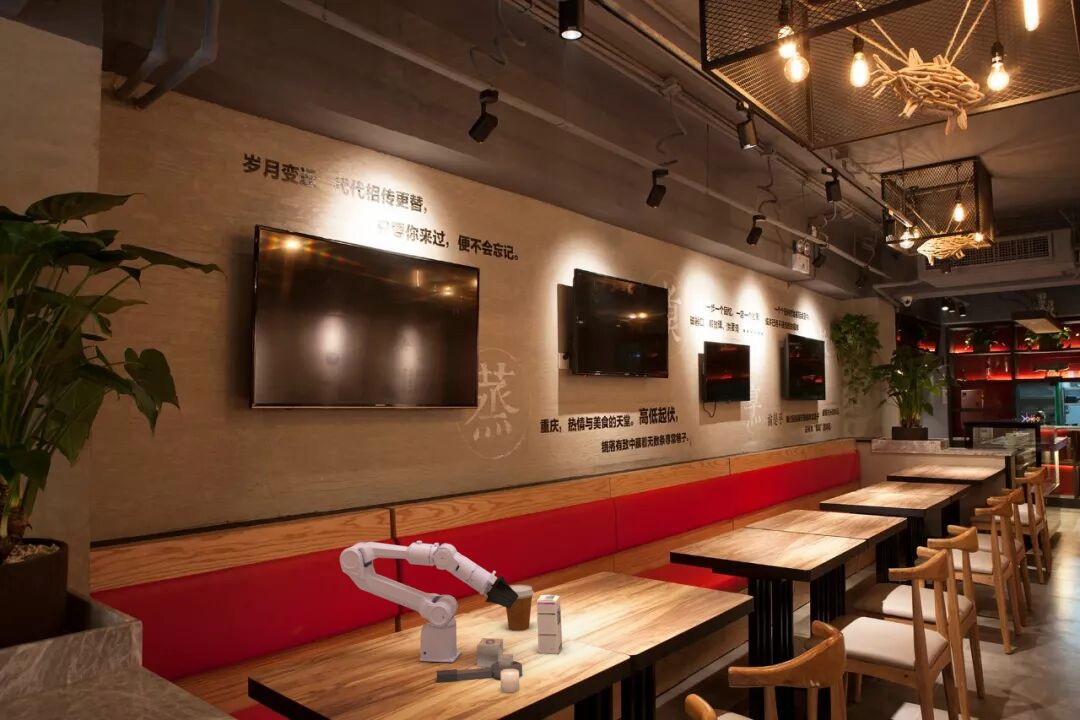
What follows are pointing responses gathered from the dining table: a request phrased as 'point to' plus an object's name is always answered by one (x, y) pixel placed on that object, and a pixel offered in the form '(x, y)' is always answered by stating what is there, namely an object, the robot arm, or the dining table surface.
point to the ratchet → (481, 671)
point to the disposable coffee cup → (520, 608)
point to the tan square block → (489, 651)
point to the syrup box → (549, 624)
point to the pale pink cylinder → (509, 680)
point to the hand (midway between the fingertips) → (514, 602)
